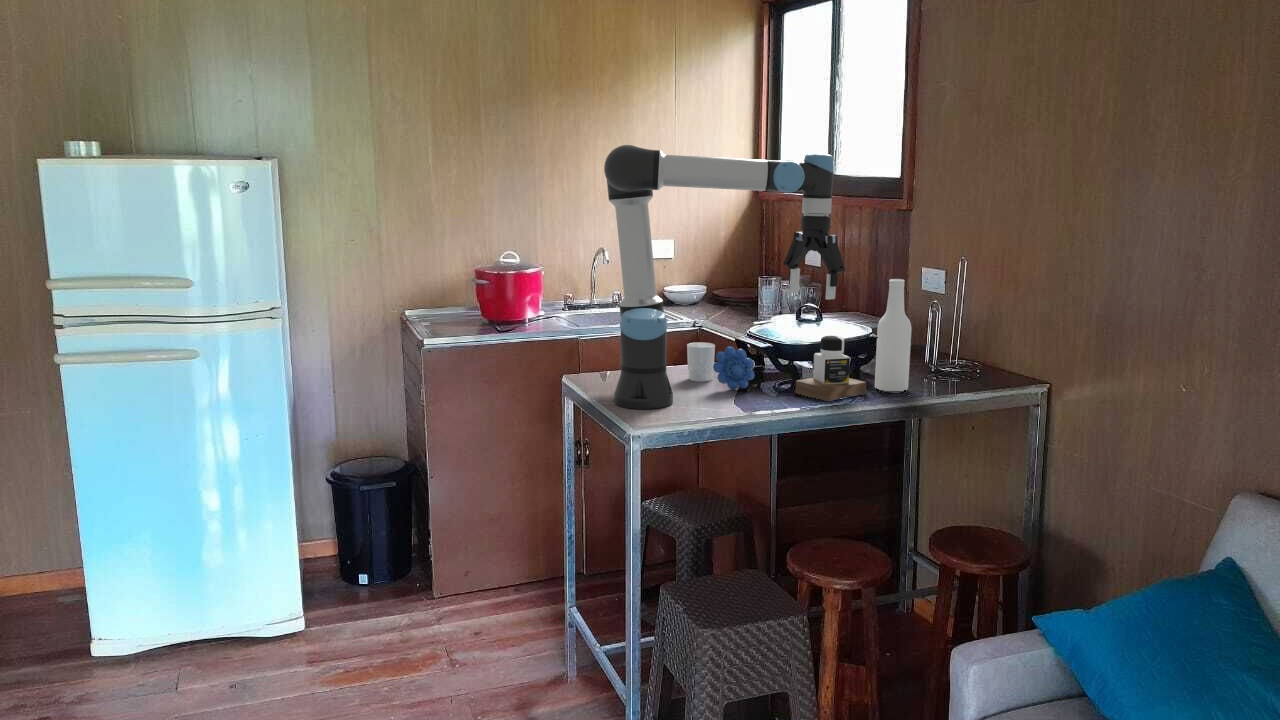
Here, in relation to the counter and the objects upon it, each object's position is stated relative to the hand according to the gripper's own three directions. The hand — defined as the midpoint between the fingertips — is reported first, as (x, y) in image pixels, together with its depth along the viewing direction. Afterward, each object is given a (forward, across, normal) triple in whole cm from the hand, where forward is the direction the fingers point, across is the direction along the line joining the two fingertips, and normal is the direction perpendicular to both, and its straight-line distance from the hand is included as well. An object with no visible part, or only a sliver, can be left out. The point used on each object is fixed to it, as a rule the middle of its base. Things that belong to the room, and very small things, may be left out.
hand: (811, 296), depth 252 cm
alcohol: (+26, -12, -20) cm, 34 cm away
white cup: (+26, +27, +15) cm, 41 cm away
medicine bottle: (+22, -6, -2) cm, 23 cm away
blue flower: (+26, +11, +16) cm, 33 cm away
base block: (+26, -6, -2) cm, 27 cm away
